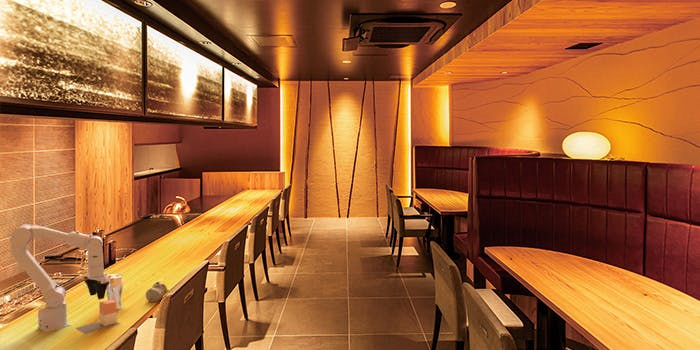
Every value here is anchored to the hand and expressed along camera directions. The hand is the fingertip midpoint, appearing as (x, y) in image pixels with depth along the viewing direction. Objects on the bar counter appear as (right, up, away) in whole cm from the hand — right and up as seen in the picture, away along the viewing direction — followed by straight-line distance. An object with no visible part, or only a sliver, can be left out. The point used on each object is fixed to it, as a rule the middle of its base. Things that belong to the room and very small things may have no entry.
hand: (97, 296), depth 195 cm
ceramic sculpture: (+13, -9, +30) cm, 34 cm away
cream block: (+6, -10, -2) cm, 12 cm away
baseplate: (+4, -11, -6) cm, 13 cm away
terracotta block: (+6, -6, -3) cm, 9 cm away
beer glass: (-1, -10, +16) cm, 19 cm away
